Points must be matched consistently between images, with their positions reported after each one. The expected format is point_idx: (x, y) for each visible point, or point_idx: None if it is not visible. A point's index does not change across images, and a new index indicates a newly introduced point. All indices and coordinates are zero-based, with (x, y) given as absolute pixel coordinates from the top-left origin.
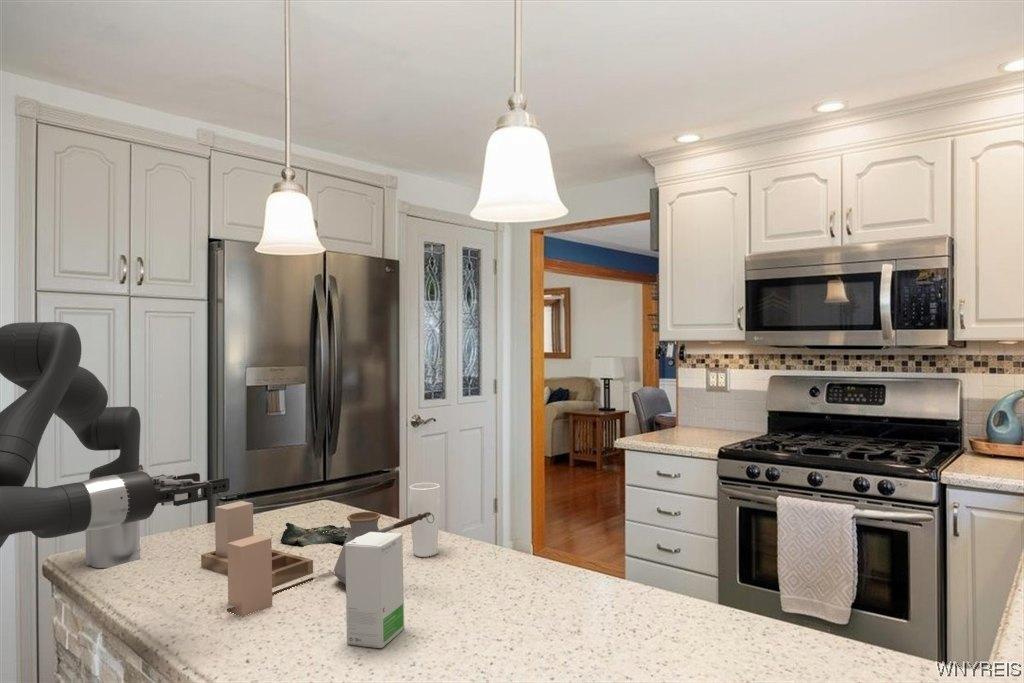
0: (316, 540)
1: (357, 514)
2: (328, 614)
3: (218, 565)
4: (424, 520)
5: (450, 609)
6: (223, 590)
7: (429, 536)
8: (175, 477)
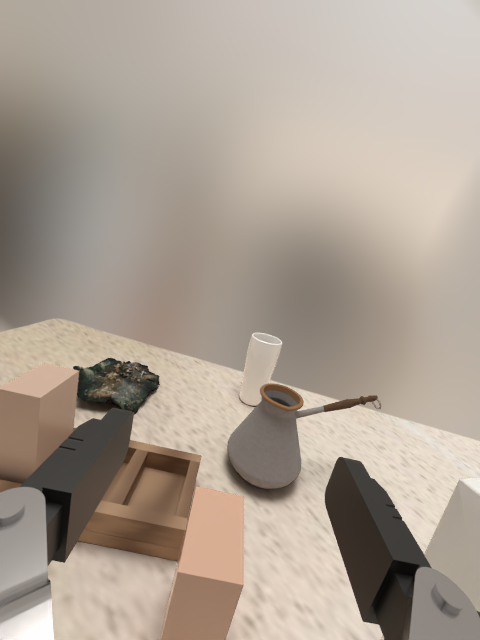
0: (130, 392)
1: (264, 389)
2: (325, 588)
3: None
4: (269, 374)
5: (404, 507)
6: (57, 572)
7: None
8: (44, 514)
